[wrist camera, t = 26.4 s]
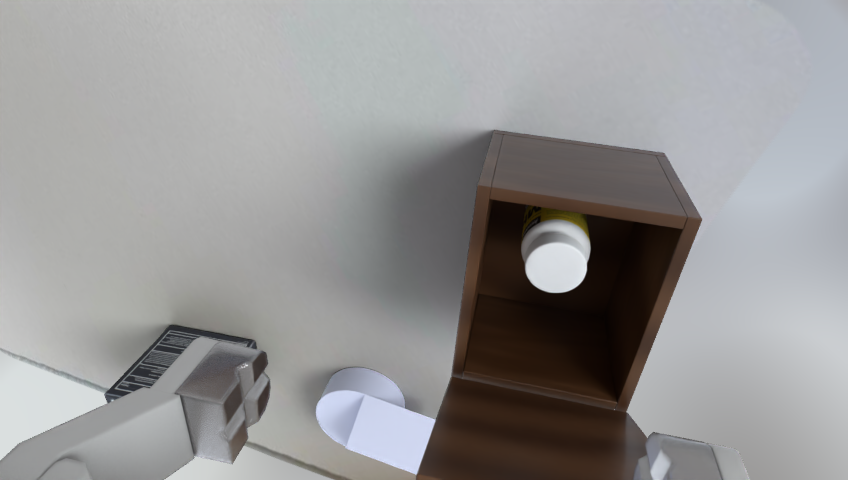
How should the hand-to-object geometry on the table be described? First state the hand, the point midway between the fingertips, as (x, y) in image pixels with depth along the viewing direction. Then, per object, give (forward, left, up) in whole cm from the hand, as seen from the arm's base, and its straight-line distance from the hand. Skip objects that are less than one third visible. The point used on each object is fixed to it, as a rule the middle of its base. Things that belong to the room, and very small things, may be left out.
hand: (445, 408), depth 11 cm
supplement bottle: (+3, +10, -30) cm, 32 cm away
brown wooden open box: (+4, +12, -31) cm, 34 cm away
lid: (+6, +14, -13) cm, 20 cm away
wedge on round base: (+31, +21, -31) cm, 49 cm away
